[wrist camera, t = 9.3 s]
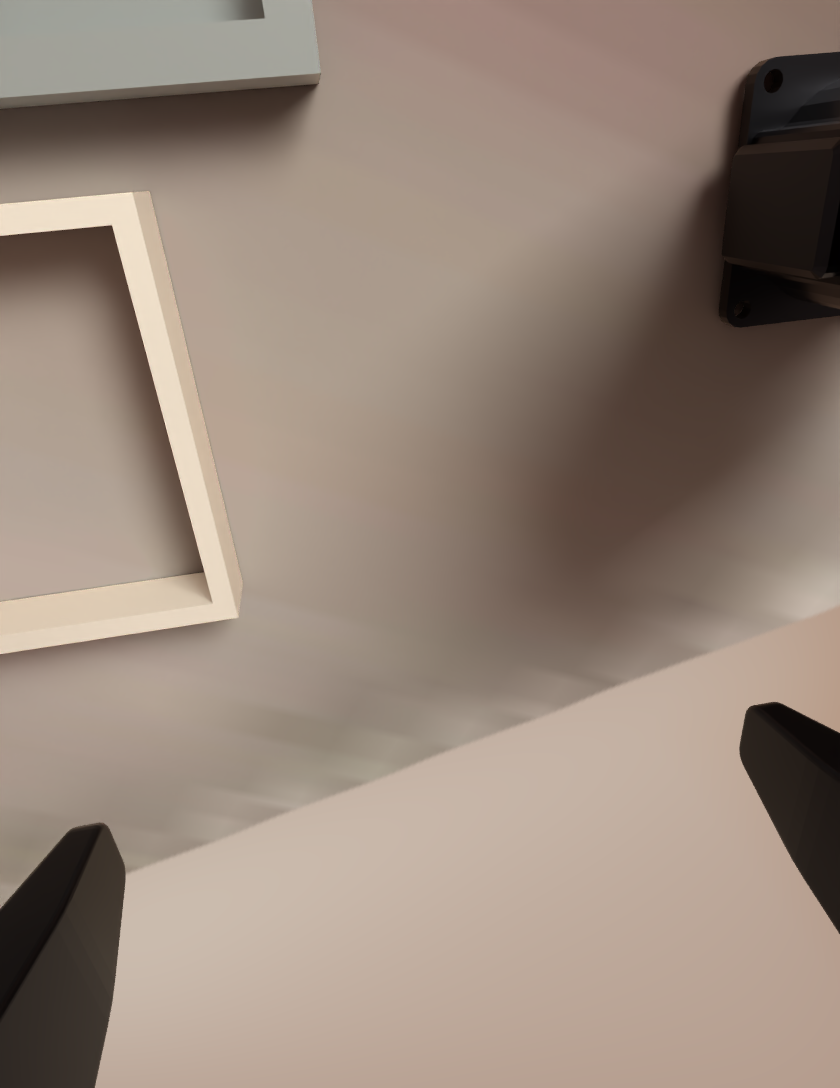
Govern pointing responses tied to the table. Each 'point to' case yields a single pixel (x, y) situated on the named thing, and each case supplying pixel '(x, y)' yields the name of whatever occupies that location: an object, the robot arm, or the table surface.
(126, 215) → the frame
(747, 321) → the robot arm
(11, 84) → the tray
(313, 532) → the table surface
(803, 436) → the table surface
